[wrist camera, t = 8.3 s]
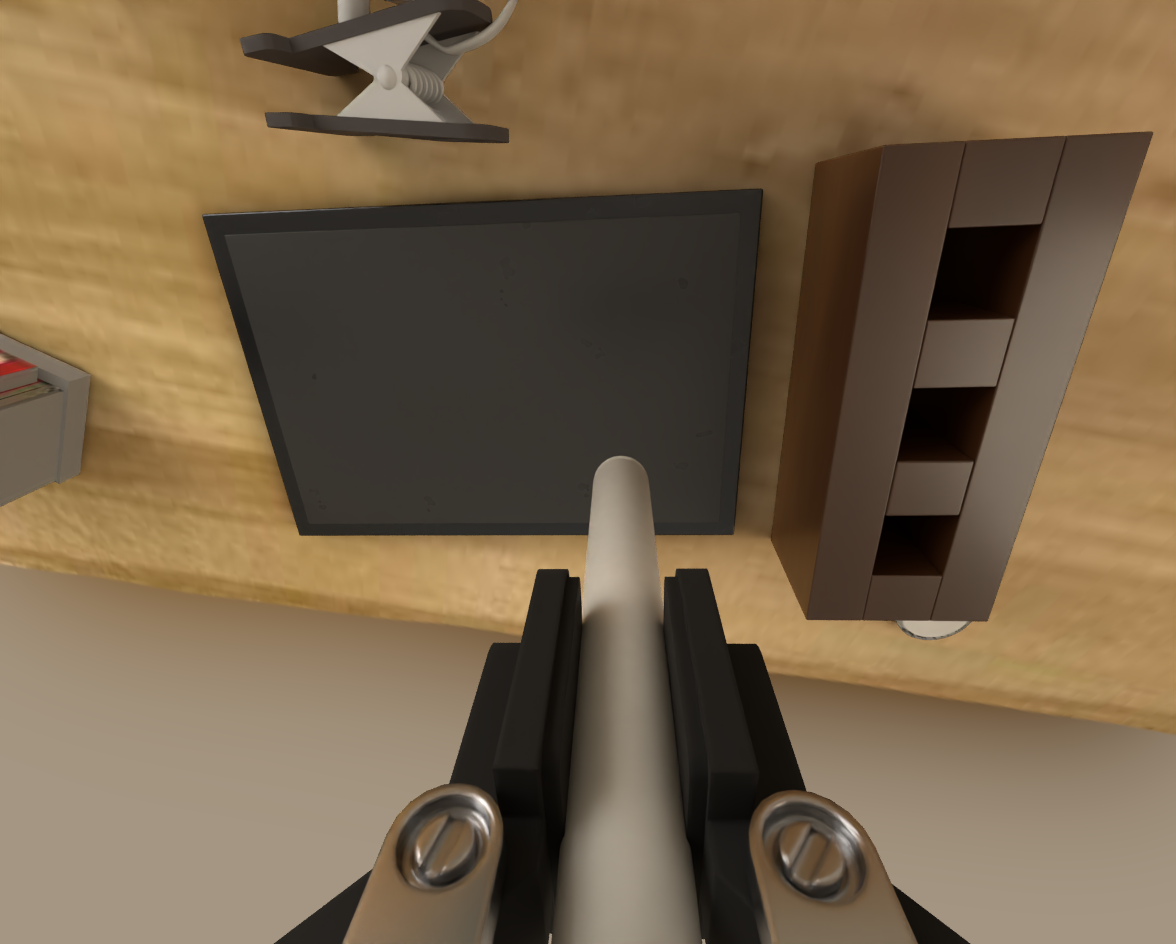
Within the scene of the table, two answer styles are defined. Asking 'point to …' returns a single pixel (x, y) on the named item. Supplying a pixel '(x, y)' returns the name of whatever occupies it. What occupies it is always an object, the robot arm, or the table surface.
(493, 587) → the table surface
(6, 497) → the upright grey box
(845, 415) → the pen rack
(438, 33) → the clip-on lamp
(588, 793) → the stylus
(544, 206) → the tablet
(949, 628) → the white flat rimmed disc
